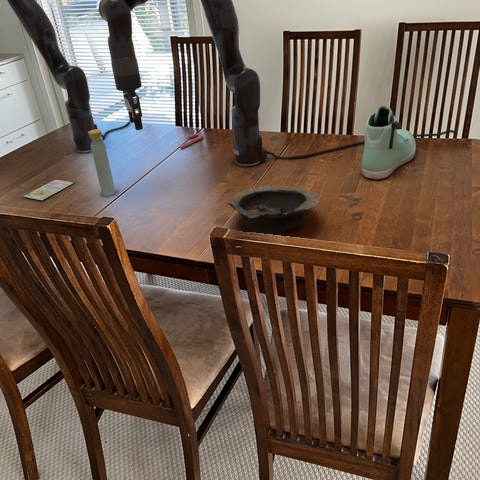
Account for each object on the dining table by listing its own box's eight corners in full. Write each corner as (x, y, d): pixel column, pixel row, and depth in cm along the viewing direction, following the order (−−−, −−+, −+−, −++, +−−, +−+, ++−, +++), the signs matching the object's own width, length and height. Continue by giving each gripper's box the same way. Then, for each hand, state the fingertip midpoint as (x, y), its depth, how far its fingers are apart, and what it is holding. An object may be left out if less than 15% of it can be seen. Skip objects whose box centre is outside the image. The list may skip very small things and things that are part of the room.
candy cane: (171, 147, 193) (170, 143, 192) (194, 135, 203) (194, 131, 202) (182, 149, 190) (182, 145, 189) (206, 137, 200) (205, 133, 199)
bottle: (107, 189, 162) (93, 129, 151) (118, 191, 161) (104, 130, 150) (99, 195, 159) (84, 134, 148) (110, 196, 157) (96, 135, 146)
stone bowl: (258, 254, 121) (254, 221, 116) (217, 221, 141) (212, 192, 137) (338, 225, 129) (337, 193, 125) (288, 198, 150) (286, 170, 145)
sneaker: (420, 146, 175) (428, 89, 165) (399, 183, 150) (406, 120, 139) (383, 142, 181) (388, 87, 171) (356, 177, 156) (360, 116, 145)
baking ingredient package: (22, 195, 161) (55, 178, 172) (23, 197, 161) (55, 180, 172) (41, 199, 157) (74, 182, 169) (42, 200, 157) (74, 183, 169)
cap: (94, 134, 152) (93, 128, 151) (104, 135, 150) (103, 129, 149) (86, 138, 149) (85, 133, 148) (97, 139, 147) (95, 133, 146)
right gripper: (143, 74, 135) (153, 130, 144) (134, 65, 147) (143, 117, 155) (117, 78, 133) (128, 134, 142) (109, 69, 145) (120, 122, 153)
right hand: (136, 125), depth 148 cm, fingers open, 8 cm apart
